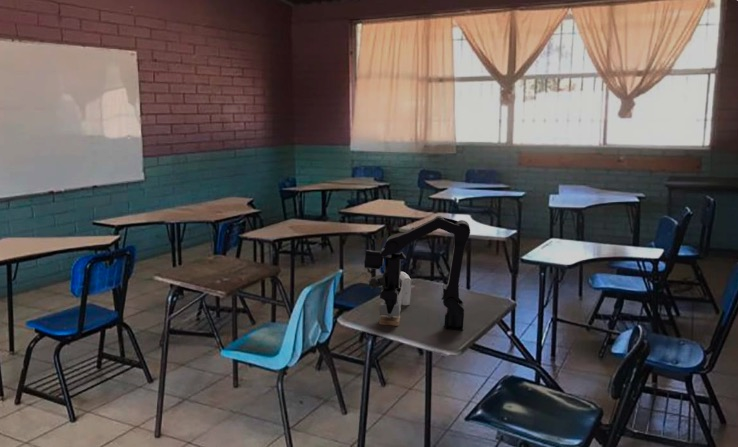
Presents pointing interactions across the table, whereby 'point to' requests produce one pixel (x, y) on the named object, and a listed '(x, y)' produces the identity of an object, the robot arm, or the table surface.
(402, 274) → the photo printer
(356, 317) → the table surface
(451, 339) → the table surface
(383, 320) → the tan knobbed plate
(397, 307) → the hollow square frame
